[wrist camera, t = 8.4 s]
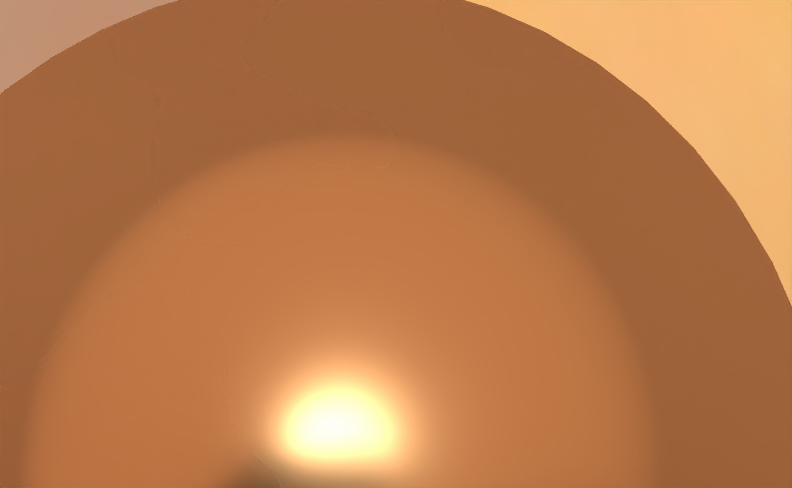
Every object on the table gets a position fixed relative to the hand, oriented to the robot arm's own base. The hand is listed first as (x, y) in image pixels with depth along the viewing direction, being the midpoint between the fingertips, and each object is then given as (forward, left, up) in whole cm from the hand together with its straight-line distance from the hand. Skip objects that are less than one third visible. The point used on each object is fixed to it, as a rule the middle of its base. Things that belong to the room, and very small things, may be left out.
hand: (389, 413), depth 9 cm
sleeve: (0, 0, -7) cm, 7 cm away
